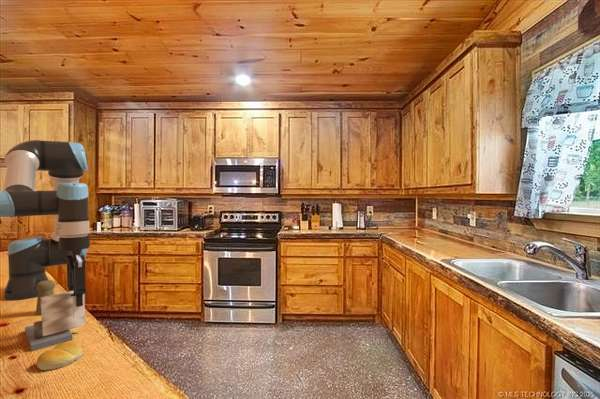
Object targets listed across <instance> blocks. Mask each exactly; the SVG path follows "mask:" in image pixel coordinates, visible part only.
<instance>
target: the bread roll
mask: <svg viewBox="0 0 600 399" xmlns="http://www.w3.org/2000/svg"><path fill="white" fill-rule="evenodd" d="M83 354H84V352H83V349H82V347H81V346H80V345H79V344H78V343H77V342H72V341H66V342H63V343H59V344H56V345H54V347H53V348H51V349H47V350H45V351H43V352H42V353H41V354H39V356H38V357H37V360H36V367H37V368H38V369H39V370H40V371H52V370H57V369H62V368H64V366H65V367H68V366H69V365H71V364H72V363H73V362H75V361H77V360H79V359H80V358H81V357H82V356H83Z"/></svg>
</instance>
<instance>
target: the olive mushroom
mask: <svg viewBox="0 0 600 399" xmlns="http://www.w3.org/2000/svg"><path fill="white" fill-rule="evenodd" d="M55 286H56V284H55V281H54V280H51V279H48V280H46V281H41V282H39V283H38V284H37V285H36V290H37V291H38V296H37V301H36V308H35V316H41V299H40V297H44V296H49V295H55V293H54V288H56V287H55Z"/></svg>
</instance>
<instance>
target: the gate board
mask: <svg viewBox="0 0 600 399" xmlns="http://www.w3.org/2000/svg"><path fill="white" fill-rule="evenodd" d="M24 333H25V336H26V340H27V341H28V345H29V348H30V351H31V352H33V351H37V350H41V349H44V348H45V349H46V348H48V347H51V346H57V345H58V344H60V343H64V342H71V341H73V334H72V332H71V329H69V330H65V331H61V332H58V333H54V334H50V335H46V336H42V337H40V338H34V324H33V325H28V326H25V327H24Z"/></svg>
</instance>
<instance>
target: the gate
mask: <svg viewBox="0 0 600 399" xmlns="http://www.w3.org/2000/svg"><path fill="white" fill-rule="evenodd" d="M73 293H74V292H73V291H70V292H69V291H64V292H61V293H54V295H49V296H44V297H40V299H41V315H40V317H41V320H38V321H37V320H36V321H35V322H33V325H34V338H40V337H42V336H46V335H50V334H54V333H58V332H61V331H65V330H72V329H76V328H77V329H78V328H81V327H84V326H86V315H85V316H82V317H78V318H73V296H72V297H71V295H70V294H73ZM85 294H86V293H84V302H86V295H85Z"/></svg>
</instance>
